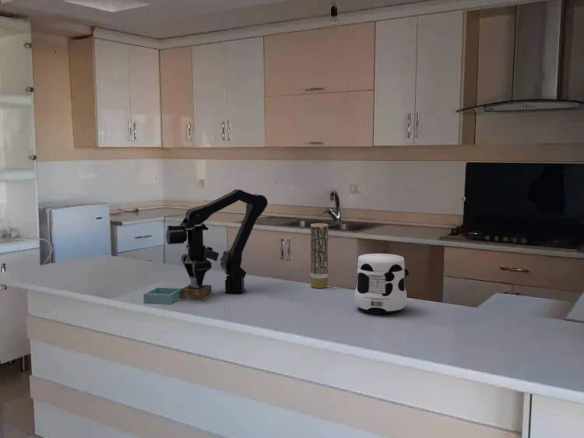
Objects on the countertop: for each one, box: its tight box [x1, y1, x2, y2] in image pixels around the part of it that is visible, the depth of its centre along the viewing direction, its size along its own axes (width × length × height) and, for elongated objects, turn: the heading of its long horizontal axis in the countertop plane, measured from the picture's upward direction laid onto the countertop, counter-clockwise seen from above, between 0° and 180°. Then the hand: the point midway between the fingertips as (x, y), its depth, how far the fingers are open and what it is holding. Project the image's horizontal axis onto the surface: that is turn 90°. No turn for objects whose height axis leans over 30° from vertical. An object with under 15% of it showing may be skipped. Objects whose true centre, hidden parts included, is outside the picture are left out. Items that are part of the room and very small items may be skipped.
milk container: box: [354, 253, 408, 314], centre depth 190 cm, size 17×17×18 cm
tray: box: [143, 286, 182, 305], centre depth 205 cm, size 10×10×3 cm
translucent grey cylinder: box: [190, 276, 202, 289], centre depth 210 cm, size 4×4×8 cm
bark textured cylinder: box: [310, 222, 329, 289], centre depth 224 cm, size 7×7×25 cm
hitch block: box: [181, 283, 213, 300], centre depth 210 cm, size 9×9×4 cm
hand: (196, 284), depth 210 cm, fingers open, 9 cm apart
